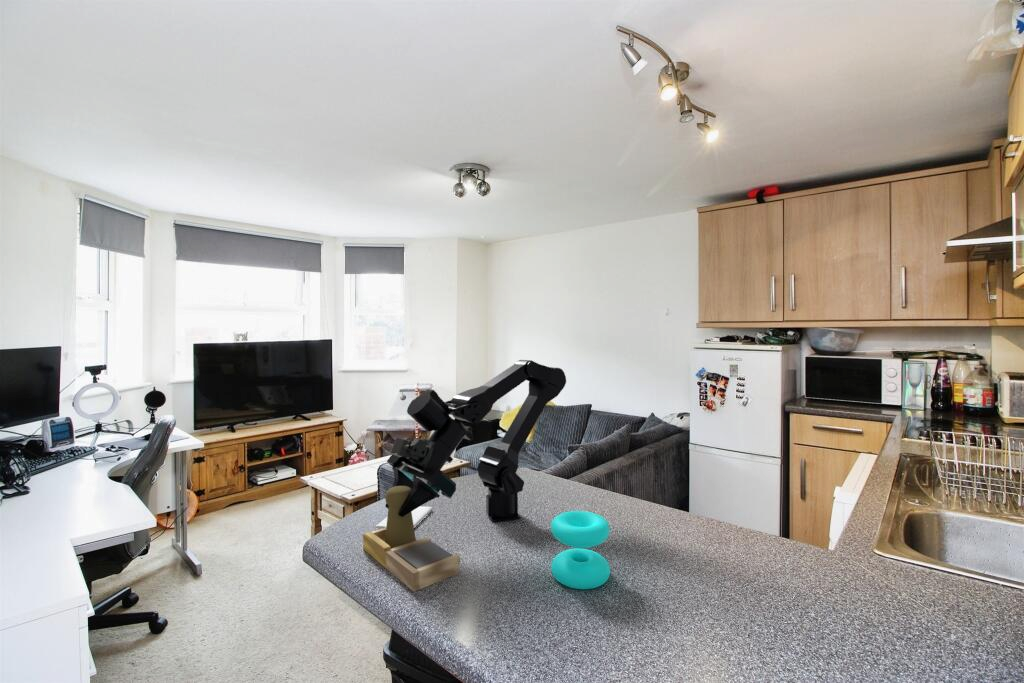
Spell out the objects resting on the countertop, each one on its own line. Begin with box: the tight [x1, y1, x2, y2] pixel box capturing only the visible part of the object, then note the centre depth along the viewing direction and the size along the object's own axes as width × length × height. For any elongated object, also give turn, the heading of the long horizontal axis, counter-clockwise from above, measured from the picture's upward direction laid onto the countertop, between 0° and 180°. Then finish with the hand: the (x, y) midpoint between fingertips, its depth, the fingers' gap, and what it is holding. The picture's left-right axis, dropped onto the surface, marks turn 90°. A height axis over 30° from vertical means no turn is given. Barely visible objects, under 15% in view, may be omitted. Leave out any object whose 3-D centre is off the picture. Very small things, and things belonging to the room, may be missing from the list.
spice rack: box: [362, 527, 461, 592], centre depth 87 cm, size 9×20×4 cm, turn 40°
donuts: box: [550, 510, 611, 590], centre depth 80 cm, size 10×10×10 cm
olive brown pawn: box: [384, 486, 417, 549], centre depth 91 cm, size 6×6×11 cm
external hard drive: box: [374, 505, 433, 529], centre depth 106 cm, size 2×8×12 cm
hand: (393, 511), depth 90 cm, fingers closed on olive brown pawn, 5 cm apart
